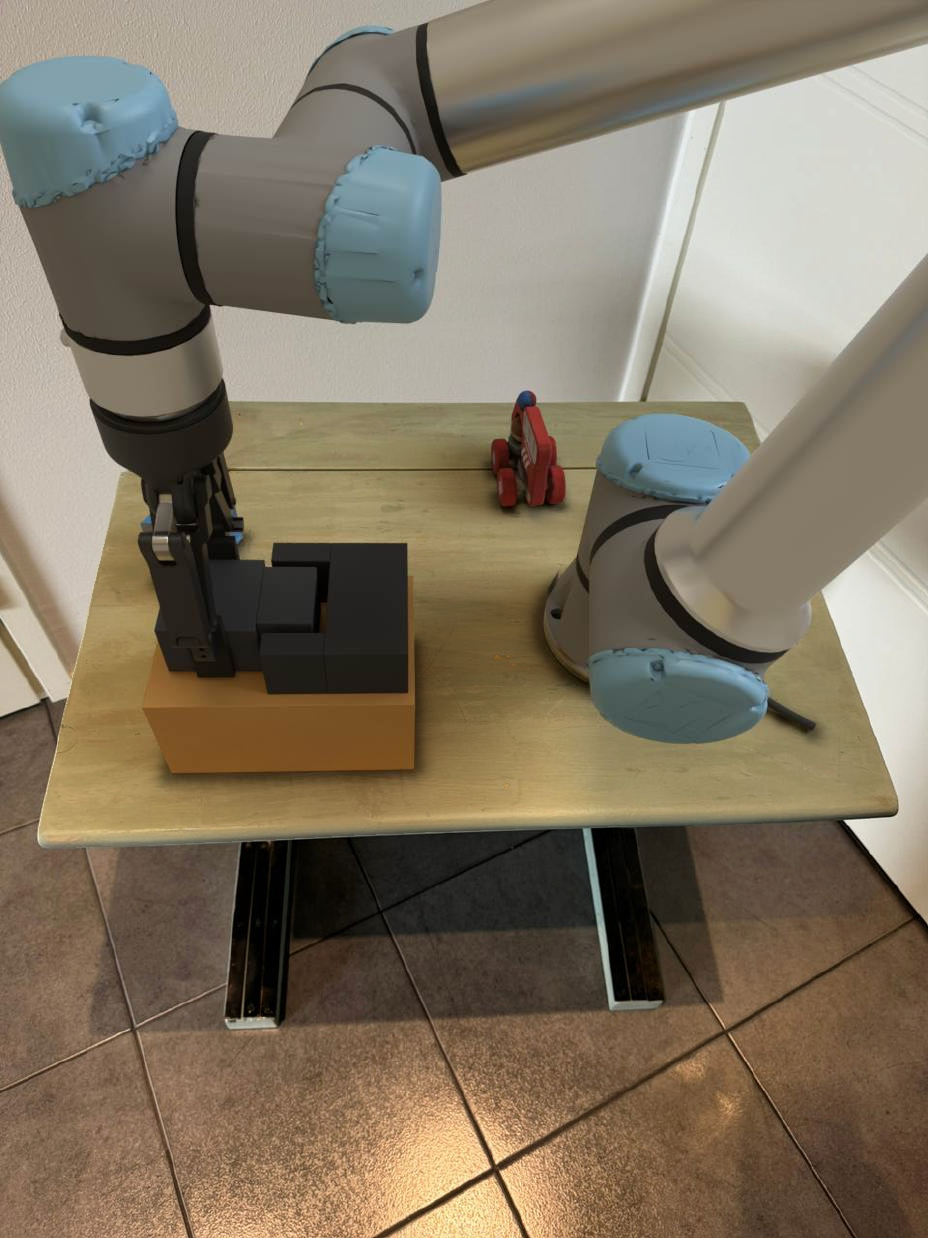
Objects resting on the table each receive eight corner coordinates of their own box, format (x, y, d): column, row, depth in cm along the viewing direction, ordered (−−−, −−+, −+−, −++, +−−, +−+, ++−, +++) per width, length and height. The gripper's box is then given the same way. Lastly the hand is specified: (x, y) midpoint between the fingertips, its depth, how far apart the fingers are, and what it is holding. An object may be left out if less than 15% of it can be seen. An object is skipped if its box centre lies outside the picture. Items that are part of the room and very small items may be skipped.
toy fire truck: (544, 446, 98) (557, 370, 90) (565, 520, 90) (581, 444, 82) (486, 448, 97) (493, 371, 89) (502, 523, 89) (512, 447, 81)
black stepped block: (321, 601, 68) (317, 559, 64) (316, 671, 64) (310, 631, 60) (183, 601, 67) (171, 558, 63) (168, 671, 63) (153, 630, 59)
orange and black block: (412, 646, 78) (413, 533, 67) (413, 769, 70) (415, 665, 59) (195, 647, 77) (158, 532, 65) (171, 773, 69) (123, 667, 57)
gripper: (124, 289, 53) (194, 541, 71) (40, 505, 41) (150, 744, 59) (243, 292, 54) (283, 541, 72) (197, 506, 41) (258, 743, 59)
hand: (223, 632), depth 65 cm, fingers closed on black stepped block, 7 cm apart
